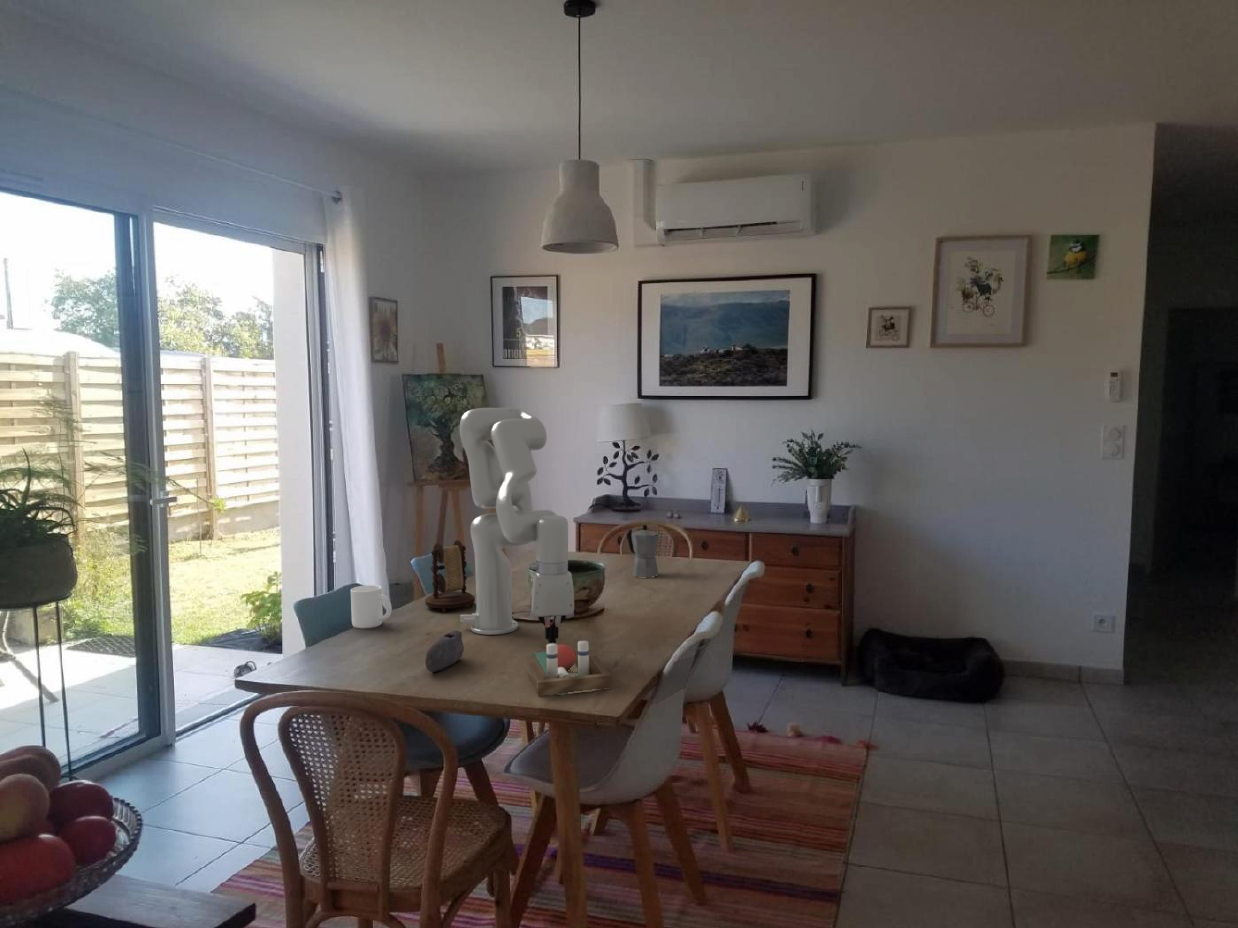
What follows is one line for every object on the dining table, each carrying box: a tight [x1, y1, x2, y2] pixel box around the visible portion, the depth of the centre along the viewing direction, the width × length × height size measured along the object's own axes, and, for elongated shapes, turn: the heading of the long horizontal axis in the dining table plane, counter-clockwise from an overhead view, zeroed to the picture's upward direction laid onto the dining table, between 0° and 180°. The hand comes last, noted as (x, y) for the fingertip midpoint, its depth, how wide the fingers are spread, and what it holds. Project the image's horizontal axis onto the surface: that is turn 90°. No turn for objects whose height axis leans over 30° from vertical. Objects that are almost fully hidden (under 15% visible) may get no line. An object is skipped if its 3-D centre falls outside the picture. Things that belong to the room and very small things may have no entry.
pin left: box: [546, 643, 558, 679], centre depth 183 cm, size 2×2×8 cm
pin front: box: [558, 667, 570, 678], centre depth 182 cm, size 2×2×8 cm
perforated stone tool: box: [424, 630, 465, 673], centre depth 195 cm, size 15×5×7 cm, turn 161°
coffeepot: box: [626, 524, 661, 577], centre depth 290 cm, size 15×9×18 cm, turn 44°
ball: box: [557, 643, 577, 670], centre depth 191 cm, size 6×6×6 cm
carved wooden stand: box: [424, 539, 476, 614], centre depth 250 cm, size 15×15×20 cm
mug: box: [350, 584, 392, 629], centre depth 231 cm, size 12×8×10 cm
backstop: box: [527, 655, 613, 697], centre depth 184 cm, size 16×14×3 cm
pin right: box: [577, 640, 590, 676], centre depth 185 cm, size 2×2×8 cm
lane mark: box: [534, 651, 578, 696], centre depth 191 cm, size 30×8×1 cm, turn 15°
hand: (551, 641), depth 201 cm, fingers closed
